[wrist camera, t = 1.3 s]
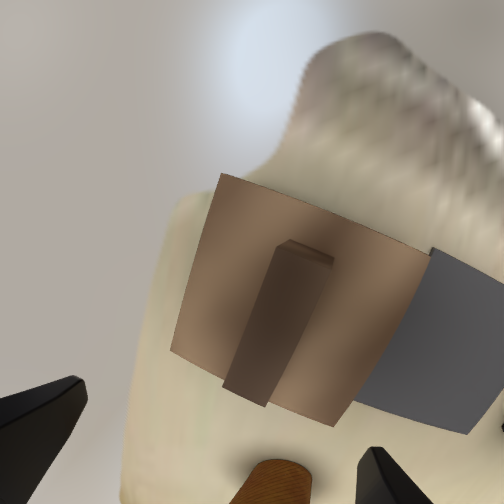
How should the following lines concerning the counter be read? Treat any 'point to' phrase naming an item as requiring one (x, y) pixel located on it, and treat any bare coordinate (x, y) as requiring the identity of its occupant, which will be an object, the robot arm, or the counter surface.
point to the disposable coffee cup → (276, 484)
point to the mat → (444, 350)
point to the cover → (292, 300)
